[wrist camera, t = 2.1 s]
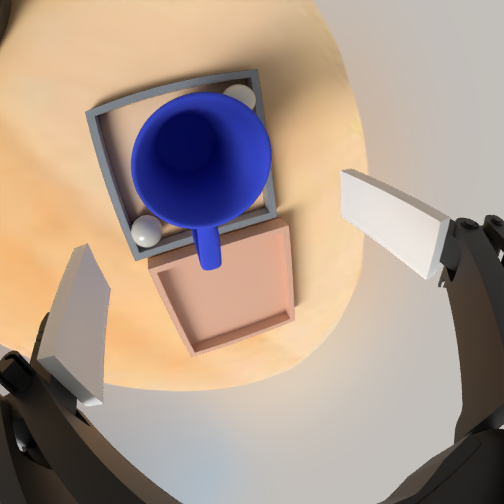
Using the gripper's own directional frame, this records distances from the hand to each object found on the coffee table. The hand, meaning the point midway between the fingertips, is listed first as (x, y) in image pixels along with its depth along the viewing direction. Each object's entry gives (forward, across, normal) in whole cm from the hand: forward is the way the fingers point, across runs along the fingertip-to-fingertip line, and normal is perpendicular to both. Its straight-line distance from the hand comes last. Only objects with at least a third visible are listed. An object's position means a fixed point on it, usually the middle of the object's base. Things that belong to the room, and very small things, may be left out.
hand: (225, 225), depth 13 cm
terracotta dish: (+14, +1, -16) cm, 21 cm away
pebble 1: (+14, -6, -4) cm, 15 cm away
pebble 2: (+14, +5, +5) cm, 15 cm away
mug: (+14, 0, 0) cm, 14 cm away
